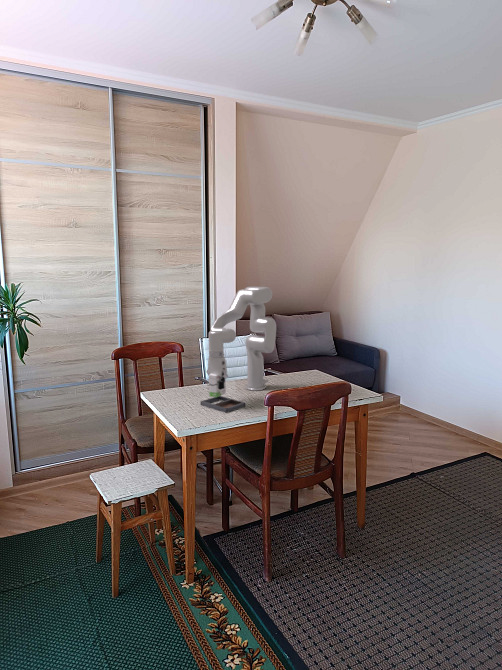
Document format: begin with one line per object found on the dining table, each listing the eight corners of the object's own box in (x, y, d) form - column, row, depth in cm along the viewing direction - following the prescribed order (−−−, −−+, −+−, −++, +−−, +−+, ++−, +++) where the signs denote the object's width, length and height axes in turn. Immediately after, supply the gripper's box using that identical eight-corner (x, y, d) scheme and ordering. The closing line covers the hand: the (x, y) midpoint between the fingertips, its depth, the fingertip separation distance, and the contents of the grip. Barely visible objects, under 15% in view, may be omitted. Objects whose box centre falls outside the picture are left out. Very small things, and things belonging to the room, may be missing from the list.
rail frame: (219, 399, 255) (219, 395, 255) (245, 406, 242) (245, 402, 242) (200, 405, 245) (200, 401, 244) (226, 412, 232) (226, 408, 232)
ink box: (216, 397, 242) (216, 375, 240) (209, 396, 244) (208, 374, 242) (226, 393, 249) (225, 371, 247) (218, 392, 251) (217, 370, 249)
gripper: (233, 355, 240) (234, 389, 243) (210, 350, 251) (211, 383, 254) (222, 357, 234) (223, 392, 237) (199, 353, 246) (201, 386, 249)
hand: (217, 387), depth 246 cm, fingers closed on ink box, 5 cm apart
